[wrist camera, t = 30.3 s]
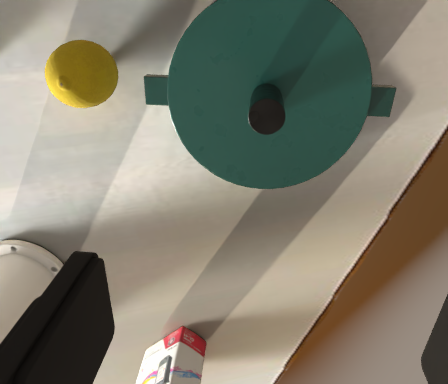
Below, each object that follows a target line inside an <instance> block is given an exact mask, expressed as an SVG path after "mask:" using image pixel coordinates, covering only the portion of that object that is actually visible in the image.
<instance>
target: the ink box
mask: <svg viewBox="0 0 448 384" xmlns="http://www.w3.org/2000/svg"><path fill="white" fill-rule="evenodd" d="M205 349H206V341H205V340H203V339H202V338H201V337H199V336H198V335H197V334H195V333H194V332H192V331H190V330H189V329H187V328H186V327H184V326H182V327H181V328H179V329H177V330H176V331H174V332H173V333H171V334H170V335H168V336H167V337H165V338H164V339H162V340H160V341H159V342H157V343H156V344H154V345H153V346H151V347H150V348H148V349H147V350H146V353H145V356H144V359H143V362H142V366H141V369H140V372H139V375H138V378H137V381H136V384H200V383H201V377H202V370H203V363H204V356H205Z"/></svg>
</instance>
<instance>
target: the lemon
mask: <svg viewBox="0 0 448 384" xmlns="http://www.w3.org/2000/svg"><path fill="white" fill-rule="evenodd" d="M45 78H46V82H47V85H48V87H49V89H50V91H51V92H52V93H53V95H54V96H55V97H56V98H57V99H59V100H60V101H61V102H63V103H65V104H66V105H69V106H72V107H77V108H88V107H93V106H97V105H99V104H100V103H102V102H104V101H106V100H107V99H108V98H109V97H110V96H111V95H112V94H113V92H114V90H115V88H116V86H117V82H118V69H117V66H116V63H115V61H114V59H113V57H112V56H111V55H110V53H109V52H108V51H107V50H106V49H104V48H103V47H102V46H100V45H98V44H96V43H94V42H91V41H86V40H75V41H70V42H68V43H65V44H63V45H61V46H59V47H58V48H57V49H56V50H55V51H54V52H53V53H52V54H51V55H50V57H49V59H48V60H47V63H46V67H45Z"/></svg>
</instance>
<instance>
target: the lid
mask: <svg viewBox="0 0 448 384" xmlns="http://www.w3.org/2000/svg"><path fill="white" fill-rule="evenodd" d="M371 93H372V73H371V65H370V61H369V57H368V53H367V50H366V47H365V45H364V43H363V40H362V38H361V36H360V34H359V33H358V31H357V30H356V28H355V26H354V25H353V23H352V22H351V21H350V20H349V19H348V17H347V16H346V15H345V14H344V13H343V12H342V11H341V10H340V9H339V8H337V7H336V6H335V5H334V4H333V3H331V2H330V1H328V0H217V1H215V2H214V3H213V4H211V5H210V6H208V7H207V8H206V9H205V10H204V11H203V12H201V13H200V14H199V15H198V16H197V17H196V18H195V19H194V21H193V22H192V23H191V24H190V26H189V27H188V28H187V29H186V31H185V33H184V34H183V36H182V38H181V39H180V41H179V43H178V45H177V47H176V50H175V52H174V54H173V58H172V61H171V65H170V68H169V75H168V85H167V96H168V105H169V110H170V115H171V119H172V122H173V124H174V127H175V130H176V132H177V134H178V136H179V138H180V139H181V141H182V143H183V144H184V146H185V147H186V149H187V150H188V152H189V153H190V154H191V155H192V156H193V157H194V158H195V159H196V160H197V161H198V162H199V163H200V164H201V165H202V166H203V167H204V168H206V169H207V170H209V171H210V172H212V173H213V174H214V175H216V176H218V177H220V178H222V179H224V180H226V181H229V182H231V183H234V184H237V185H241V186H245V187H250V188H258V189H274V188H283V187H288V186H292V185H296V184H299V183H302V182H305V181H307V180H309V179H311V178H313V177H315V176H317V175H319V174H321V173H322V172H324V171H325V170H327V169H328V168H329V167H331V166H332V165H333V164H334V163H336V162H337V161H338V160H339V159H340V158H341V157H342V156H343V155H344V154H345V153H346V152H347V150H348V149H349V148H350V146H351V145H352V144H353V142H354V141H355V139H356V138H357V136H358V134H359V132H360V131H361V129H362V126H363V124H364V122H365V119H366V117H367V113H368V109H369V106H370V100H371Z"/></svg>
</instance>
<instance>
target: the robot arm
mask: <svg viewBox="0 0 448 384" xmlns="http://www.w3.org/2000/svg"><path fill="white" fill-rule="evenodd" d="M114 328H115V326H114V319H113V313H112V307H111V301H110V295H109V289H108V283H107V277H106V271H105V265H104V261H103V259H101V258H98V255H97V254H96V253H92V252H80V251H75V252H73V253H72V254H71V256H70V257H69V258H68V260H67V261H66V262H65V264H63V263H62V262H61V261H60V260H59V259H58V258H57V257H55V256H54V255H53V254H52V253H50V252H49V251H47V250H45V249H44V248H42V247H40V246H37V245H35V244H33V243H29V242H25V241H20V240H4V241H0V384H93V381H94V379H95V377H96V375H97V372H98V370H99V368H100V366H101V363H102V361H103V359H104V357H105V354H106V352H107V350H108V347H109V345H110V343H111V341H112V338H113V335H114ZM421 363H422V364H421V365H422V369H423V372H424V374H425V377H426V379H427V381H428V384H448V294H447V297H446V299H445V302H444V304H443V306H442V309H441V311H440V314H439V316H438V318H437V321H436V323H435V325H434V328H433V330H432V333H431V335H430V337H429V340H428V342H427V344H426V347H425V349H424V352H423V354H422V357H421Z"/></svg>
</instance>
